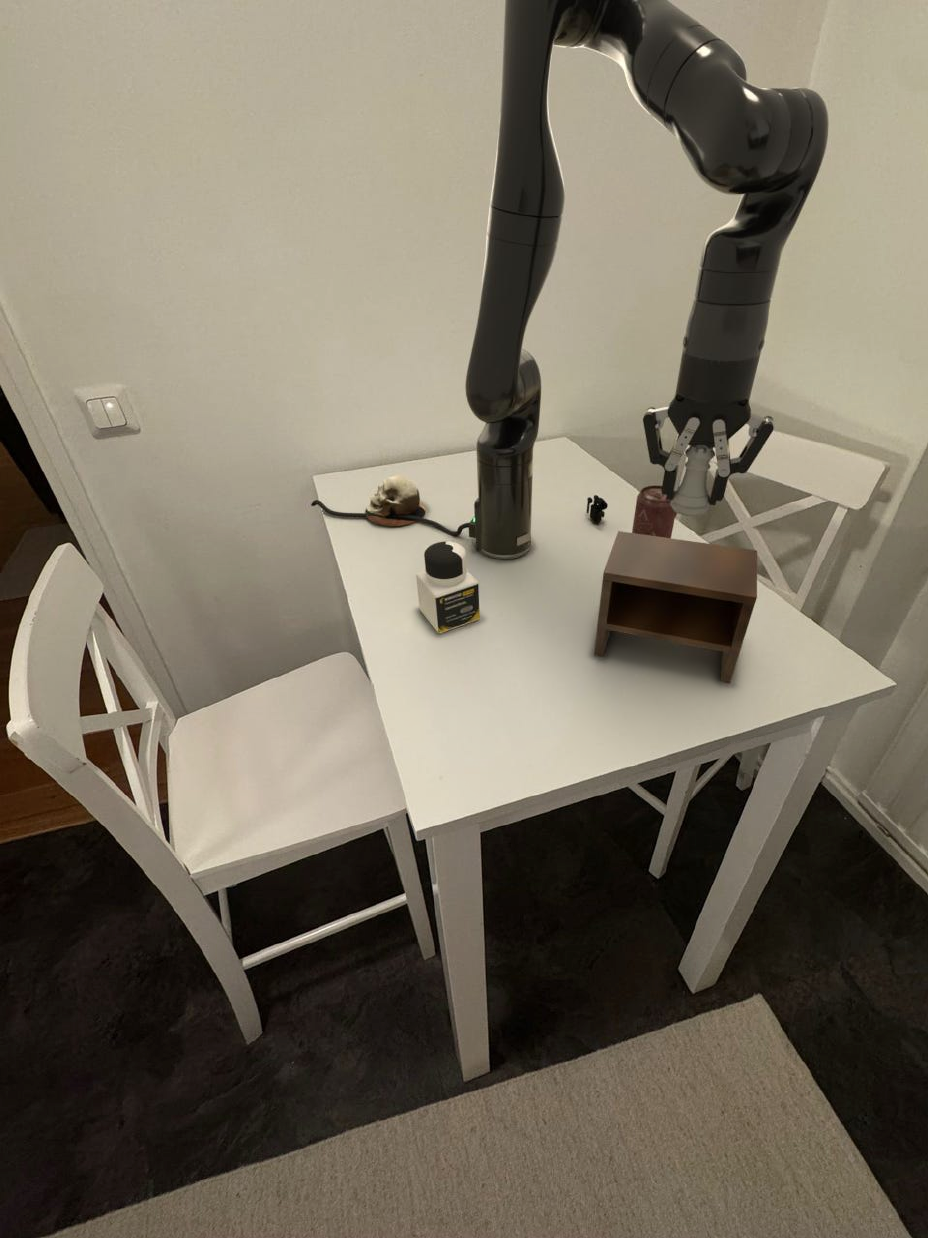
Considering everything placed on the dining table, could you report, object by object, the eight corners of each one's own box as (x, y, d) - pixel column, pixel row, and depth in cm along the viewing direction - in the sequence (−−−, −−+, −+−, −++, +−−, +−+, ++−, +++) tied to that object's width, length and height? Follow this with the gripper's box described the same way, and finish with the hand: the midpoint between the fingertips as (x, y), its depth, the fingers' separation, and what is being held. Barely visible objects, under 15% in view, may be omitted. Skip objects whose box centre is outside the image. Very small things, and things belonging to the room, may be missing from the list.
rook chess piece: (702, 520, 70) (717, 455, 65) (664, 512, 72) (675, 448, 67) (712, 504, 73) (727, 441, 68) (675, 497, 75) (687, 434, 70)
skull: (356, 524, 116) (358, 472, 117) (372, 536, 126) (374, 487, 127) (417, 524, 114) (419, 471, 115) (428, 535, 124) (430, 487, 125)
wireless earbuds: (584, 513, 118) (586, 489, 115) (596, 511, 118) (598, 487, 115) (598, 530, 112) (601, 506, 109) (611, 528, 113) (614, 504, 110)
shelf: (593, 655, 85) (603, 572, 76) (608, 610, 93) (618, 530, 84) (730, 683, 80) (757, 597, 71) (732, 632, 88) (757, 550, 79)
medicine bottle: (438, 634, 90) (432, 567, 83) (419, 610, 95) (411, 544, 88) (480, 619, 93) (478, 553, 85) (459, 596, 98) (455, 531, 90)
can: (667, 580, 99) (682, 502, 90) (627, 577, 100) (638, 500, 91) (665, 560, 103) (679, 484, 95) (627, 557, 105) (637, 482, 96)
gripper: (797, 341, 62) (755, 493, 73) (654, 335, 67) (634, 479, 77) (800, 361, 57) (754, 522, 67) (645, 353, 61) (624, 506, 72)
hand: (690, 498), depth 72 cm, fingers closed on rook chess piece, 4 cm apart
